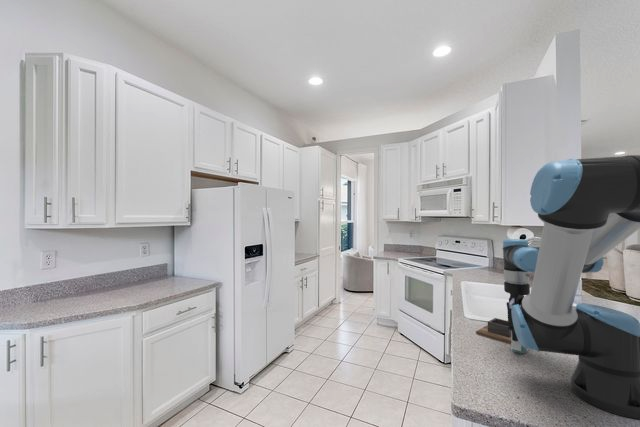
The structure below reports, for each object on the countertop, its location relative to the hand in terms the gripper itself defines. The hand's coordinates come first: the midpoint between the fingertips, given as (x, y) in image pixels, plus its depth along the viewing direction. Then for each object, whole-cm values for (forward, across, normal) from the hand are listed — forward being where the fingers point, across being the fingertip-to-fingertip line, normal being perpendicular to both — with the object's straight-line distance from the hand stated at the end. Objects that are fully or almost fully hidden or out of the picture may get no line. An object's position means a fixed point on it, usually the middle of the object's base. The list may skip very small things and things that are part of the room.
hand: (518, 347), depth 98 cm
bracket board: (+1, +11, +10) cm, 15 cm away
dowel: (+1, 0, 0) cm, 1 cm away
